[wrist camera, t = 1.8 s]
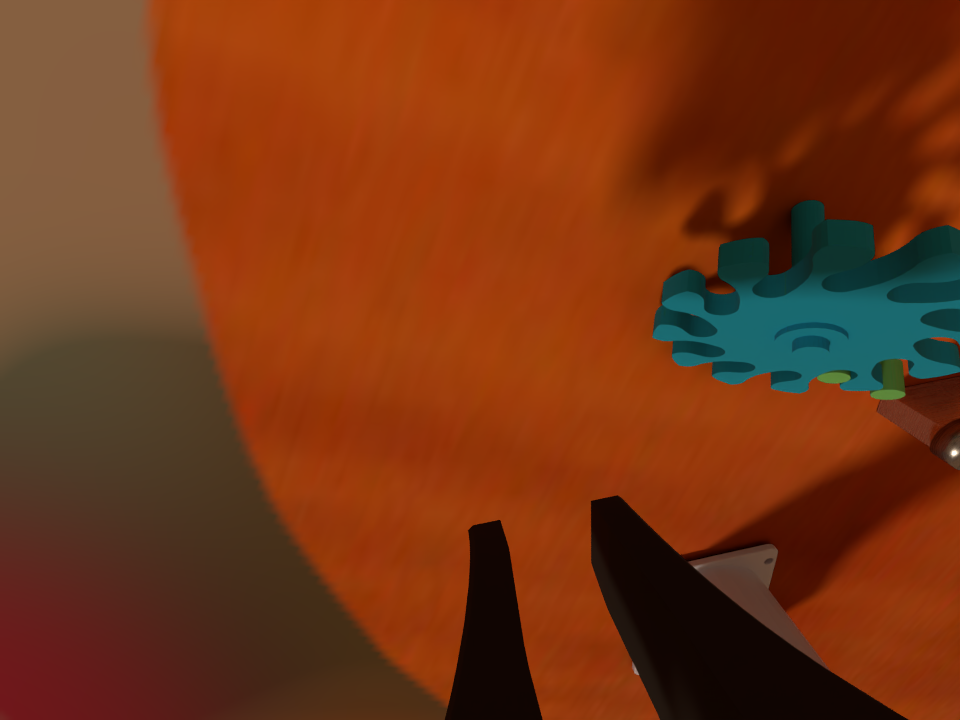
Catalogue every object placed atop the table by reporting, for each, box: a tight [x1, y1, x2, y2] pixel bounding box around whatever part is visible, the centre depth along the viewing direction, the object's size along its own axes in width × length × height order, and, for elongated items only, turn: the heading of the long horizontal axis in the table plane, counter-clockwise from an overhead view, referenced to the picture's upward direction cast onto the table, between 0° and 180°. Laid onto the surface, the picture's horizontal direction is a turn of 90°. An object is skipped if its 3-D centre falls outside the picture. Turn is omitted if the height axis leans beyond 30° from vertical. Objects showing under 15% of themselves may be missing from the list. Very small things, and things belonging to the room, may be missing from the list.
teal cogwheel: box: [653, 200, 960, 400], centre depth 18 cm, size 11×6×10 cm
